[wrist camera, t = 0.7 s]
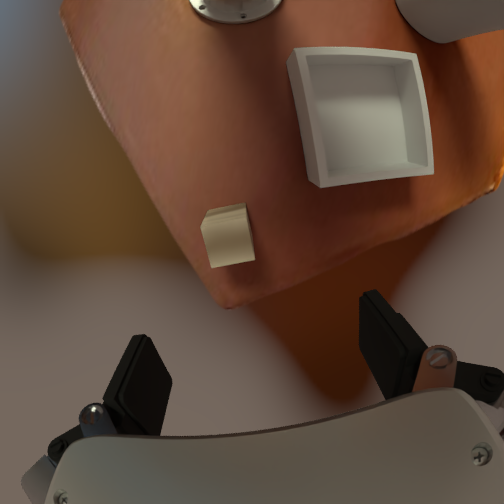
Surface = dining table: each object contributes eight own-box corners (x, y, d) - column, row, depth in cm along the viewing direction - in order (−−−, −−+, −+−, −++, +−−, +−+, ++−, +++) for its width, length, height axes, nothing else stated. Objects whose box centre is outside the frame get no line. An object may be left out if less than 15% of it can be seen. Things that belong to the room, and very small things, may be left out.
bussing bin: (285, 62, 28) (294, 48, 22) (393, 62, 27) (416, 53, 22) (308, 179, 34) (320, 188, 29) (410, 167, 33) (434, 174, 28)
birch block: (207, 210, 35) (200, 226, 29) (245, 202, 35) (246, 217, 29) (216, 245, 37) (211, 268, 31) (252, 238, 37) (255, 259, 31)
